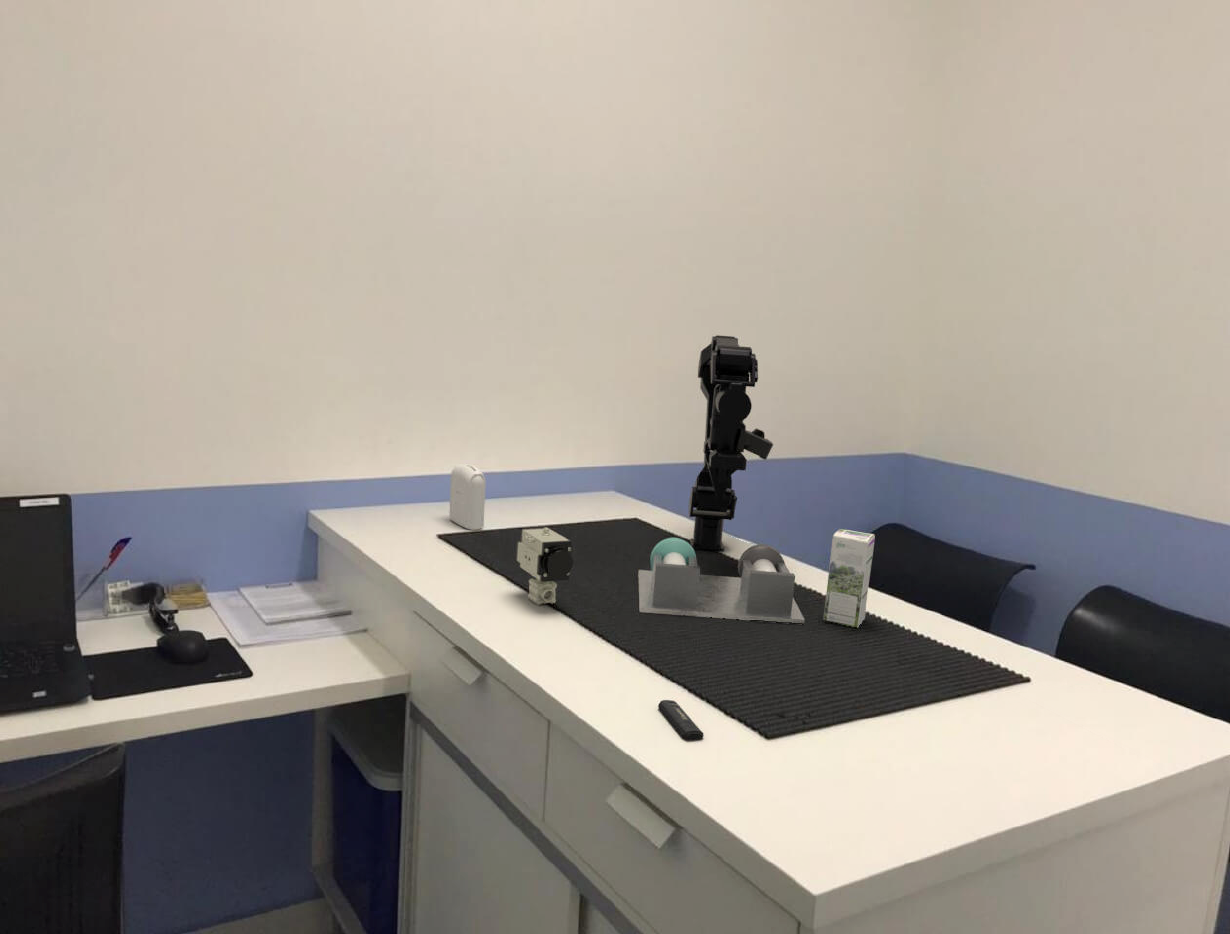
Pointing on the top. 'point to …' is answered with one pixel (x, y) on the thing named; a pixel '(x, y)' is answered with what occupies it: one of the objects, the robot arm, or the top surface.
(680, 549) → the teal knob
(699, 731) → the usb stick
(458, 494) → the photo printer
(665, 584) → the mount
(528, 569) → the pneumatic valve
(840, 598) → the syrup box
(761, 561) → the dark grey rounded piece
